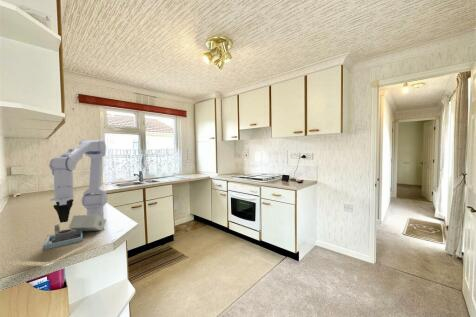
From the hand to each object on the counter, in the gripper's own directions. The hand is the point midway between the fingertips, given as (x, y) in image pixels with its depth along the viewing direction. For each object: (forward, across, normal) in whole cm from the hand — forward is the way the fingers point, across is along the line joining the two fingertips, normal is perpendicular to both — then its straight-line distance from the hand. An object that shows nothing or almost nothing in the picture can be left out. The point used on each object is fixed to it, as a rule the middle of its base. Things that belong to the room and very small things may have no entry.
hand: (64, 219), depth 79 cm
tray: (+9, 0, 0) cm, 9 cm away
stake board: (+9, -10, -2) cm, 14 cm away
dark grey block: (+9, 0, 0) cm, 9 cm away
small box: (+5, -3, +12) cm, 14 cm away
